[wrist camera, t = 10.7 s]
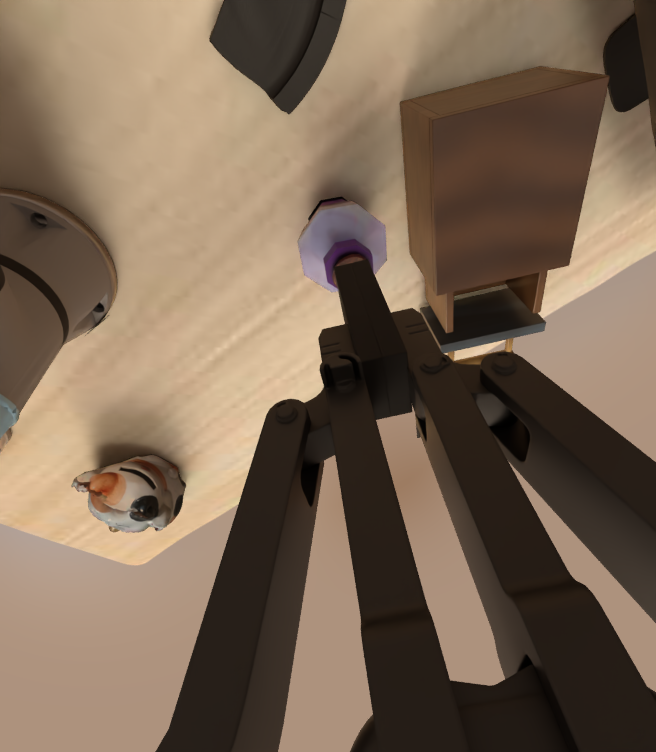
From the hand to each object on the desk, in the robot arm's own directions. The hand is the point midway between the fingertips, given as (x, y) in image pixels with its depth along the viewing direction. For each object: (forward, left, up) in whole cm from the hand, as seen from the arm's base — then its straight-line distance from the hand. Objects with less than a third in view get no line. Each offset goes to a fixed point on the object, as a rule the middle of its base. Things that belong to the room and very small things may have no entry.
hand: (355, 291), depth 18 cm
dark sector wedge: (+1, +10, -27) cm, 28 cm away
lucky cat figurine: (-37, -38, -27) cm, 59 cm away
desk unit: (+15, -5, -26) cm, 31 cm away
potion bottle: (+1, -7, -27) cm, 28 cm away
